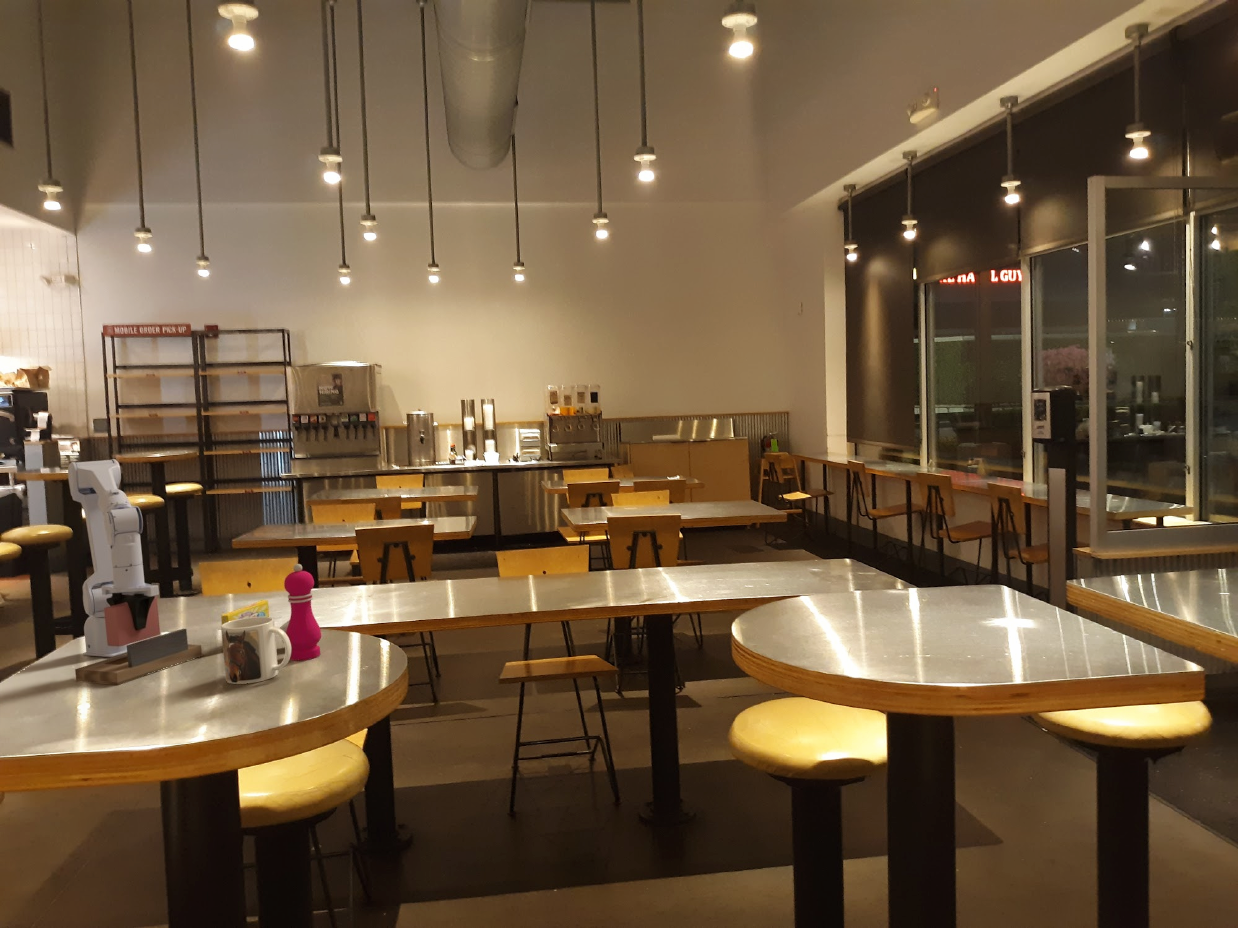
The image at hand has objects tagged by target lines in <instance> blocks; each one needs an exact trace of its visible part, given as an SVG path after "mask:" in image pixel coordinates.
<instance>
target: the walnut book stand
mask: <svg viewBox="0 0 1238 928" xmlns="http://www.w3.org/2000/svg"><path fill="white" fill-rule="evenodd" d="M202 651H203V649H202V645H201V644H189V643H188V650H185V651H182V652H179V653H176V654H172V655H169V656H166V657H163V658H160V659H157V660H154V661H151V662H148V663H145V664H142V665H139V666H136V667H133V668H130V667H128V657H127V653H124V654H120V655H117V656H114V657H109V658H107V659H104V660H100V661H97V662H95V663H91V664H87V665H84V666H81V667H78V668H75V669H74V672H75V673H74V674H75V680H76V682H81V683H82V682H83V683H90V684H91V683H93V684H102V685H112V686H113V685H114V686H119V685H122V684H125V683H128V682H131V681H134V680H136V678H137V679H139V677H140V678H142V677H141V676H143V677H145V676H144V675H146V676H148V675H147V674H148V673H152V672H154V671H158V670H161V669H163V668H166V667H169V668H171V667H170V666H171V665H175V664H177V663H181V662H184V663H186V662H185V661H187V660H190V661H192V660H191V659H193V658H196V657H199V658H201V657H200V656H202V657H203V652H202ZM196 659H197V658H196ZM193 660H194V659H193ZM187 662H188V661H187ZM181 664H182V663H181ZM175 666H176V665H175ZM166 669H167V668H166ZM163 670H164V669H163ZM161 671H162V670H161ZM158 672H159V671H158ZM152 674H153V673H152Z"/></svg>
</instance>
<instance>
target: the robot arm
mask: <svg viewBox="0 0 1238 928" xmlns="http://www.w3.org/2000/svg"><path fill="white" fill-rule="evenodd" d="M121 474H122V471H121V467H120V462H119V461H118V460H116V459H115V458H111V459H104V460H91V461H80V462H79V461H78V462H75V461H72V462H70V463H69V464H68V468H67V475H68V477H67V478H68V485H69V492H70V496H71V497H72V501H75V502H78V503H79V504H81V506H82V510H83V512H84V517H85V522H86V529H87V536H88V541H89V542H88V543H89V547H90V553H91V559H92V561H91V562H92V565H93V572H94V573H93V574H92V575H89V576H88V578H87V579H86V580H85V581H84V582H83V584H82V602H83V608H84V611H85V614H87V615H88V617H87V618H86V620H85V623H84V626H83V632H84V642H85V644H84V645H85V652H82V655H83V656H92V657H104V658H113V657H116V656H120V655H123V654H126V653H127V646H126V645H123V646H120V647H117V646H108V645H107V635H106V624H105V614H104V608H105V607H109V606H113V605H117V604H121V603H125V602H127V604H128V606H129V608H130V610H131V614H132V618H133V624H134V628H135V630H140V629H144V628H146V623H147V617H148V613H149V609H150V606H151V604H152V602H153V600H154V598H156V596H158V595H160V591H159V585H154V584H150V583H146V582H145V575H144V574H145V573H144V565H143V564H144V563H143V553H142V543H141V542H142V541H141V534H142V533H143V529H144V528H143V527H144V521H143V515H142V511H141V509H140V507H139V506H137V505H132V504H131V502H130V499H129V498H128V496H127V494H126V493H125V492H124V491H122V490H121V489H119V487H120V483H121V480H122V475H121ZM130 644H133V643H130ZM130 644H127V645H130Z"/></svg>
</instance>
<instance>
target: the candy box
mask: <svg viewBox="0 0 1238 928" xmlns="http://www.w3.org/2000/svg"><path fill="white" fill-rule="evenodd" d="M269 609H270V608H269V600H260V601H257V602H254V603H251V604H248V605H246V606H243V607H241V608H238V609H237V608H236V609H235V610H232V611H230V612H227V613H224V614H221V615H220V616H221V626H222V625H223V624H224V623H227V622H230V621H233V620H237V619H243V618H250V617H270V610H269Z"/></svg>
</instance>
